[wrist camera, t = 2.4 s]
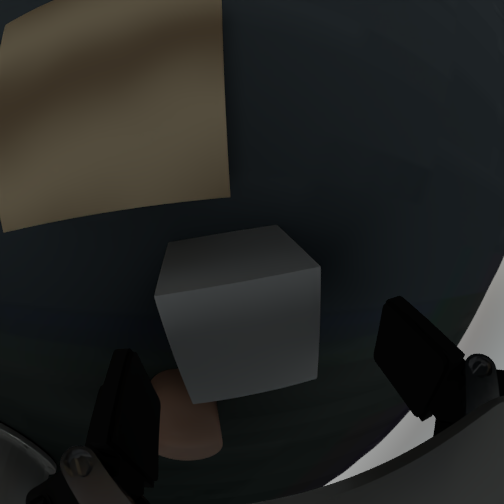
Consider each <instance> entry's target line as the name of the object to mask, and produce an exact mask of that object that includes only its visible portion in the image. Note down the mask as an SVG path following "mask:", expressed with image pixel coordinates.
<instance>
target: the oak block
mask: <svg viewBox="0 0 504 504" xmlns="http://www.w3.org/2000/svg"><path fill="white" fill-rule="evenodd" d="M225 197H230V183H229V166H228V149H227V130H226V110H225V88H224V63H223V34H222V0H53V1H51V2H49V3H47V4H44V5H42V6H40V7H38V8H36V9H34V10H32V11H30V12H28V13H26V14H24V15H22V16H21V17H19V18H17V19H15V20H13V21H12V22H10V23H8V24H7V25H5V29H4V33H3V37H2V41H1V46H0V218H1V223H2V228H3V232H9V231H13V230H17V229H22V228H26V227H31V226H35V225H40V224H45V223H50V222H55V221H60V220H65V219H70V218H76V217H82V216H87V215H93V214H99V213H105V212H111V211H118V210H124V209H131V208H138V207H145V206H153V205H161V204H169V203H177V202H186V201H195V200H204V199H214V198H225Z"/></svg>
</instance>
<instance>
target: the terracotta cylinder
mask: <svg viewBox="0 0 504 504" xmlns="http://www.w3.org/2000/svg"><path fill="white" fill-rule="evenodd" d="M151 383H152V385H153V387H154V389H155V391H156V393H157V395H158V397H159V399H160V403H161V412H160V429H159V452H158V455H161V456H163V457H167V458H170V459H176V460H199V459H204V458H207V457H210V456H212V455H214V454H216V453H217V452H219V451H220V450H221V448H222V446H223V441H222V435H221V428H220V422H219V415H218V408H217V401H213V402H206V403H199V404H193V403H192V401H191V398H190V396H189V394H188V391H187V389H186V386H185V384H184V381H183V379H182V376H181V374H180V371H179V369H170V370H166V371H163V372H160V373H159V374H157V375H156V376H155V377H154V378H153V379H152V380H151Z"/></svg>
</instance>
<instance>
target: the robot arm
mask: <svg viewBox="0 0 504 504" xmlns="http://www.w3.org/2000/svg"><path fill="white" fill-rule="evenodd" d="M464 356H465V354H464V353H463V352H462V351H461V350H460V349H459V348H458V347H457V346H456V345H455V344H454V343H453V342H451V341H450V340H449V339H448V338H447V337H446V336H445V335H444V334H443V333H442V332H441V331H440V330H439V329H438V328H437V327H435V326H434V325H433V324H432V323H431V322H430V321H429V320H428V319H427V318H426V317H424V316H423V315H422V314H421V313H420V312H419V311H418V310H417V309H416V308H414V307H413V306H412V305H411V304H410V303H409V302H408V301H406V300H405V299H404V298H403V297H401V296H397V297H394V298H391V299H388V300H387V301H386V304H384V306H383V309H382V315H381V321H380V326H379V331H378V336H377V341H376V346H375V350H374V359H375V362H376V363H377V364H378V366H379V367H380V368H381V370H382V371H383V373H384V374H385V375H386V377H387V378H388V379H389V381H390V382H391V384H392V385H393V386H394V388H395V389H396V390H397V392H398V393H399V395H400V396H401V397H402V399H403V400H404V402H405V403H406V404H407V406H408V407H409V409H410V410H411V412H412V413H413V414H414V416H416V417H419V418H420V419H421V421H424V420H426V419H428V418H429V417H431V416H432V415H434V416H435V418H436V421H435V429H434V435H433V437H432V438H430V439H429V440H427V441H425V442H424V443H422V444H420V445H418V446H417V447H415V448H413V449H411V450H409V451H408V452H406V453H404V454H402V455H400V456H398V457H396V458H394V459H392V460H390V461H388V462H386V463H383V464H381V465H379V466H377V467H375V468H372V469H370V470H367V471H365V472H363V473H360V474H358V475H355V476H353V477H350V478H348V479H345V480H342V481H339V482H336V483H333V484H330V485H327V486H324V487H321V488H317V489H314V490H311V491H307V492H303V493H300V494H296V495H292V496H287V497H283V498H278V499H274V500H269V501H263V502H257V503H251V504H504V370H497V369H496V367H495V364H494V362H493V361H492V360H491V359H490V358H489V357H487V356H486V355H483V354H473V355H470V356H469V357H468V358H467V359H466V361H465V360H464V359H463V357H464ZM160 412H161V403H160V399H159V397H158V395H157V393H156V391H155V389H154V387H153V385H152V383H151V381H150V379H149V377H148V375H147V373H146V371H145V369H144V367H143V365H142V363H141V361H140V359H139V356H138V354H137V353H136V352H132V350H131V349H117V350H115V351H114V353H113V356H112V359H111V362H110V366H109V369H108V372H107V375H106V379H105V382H104V385H102V386H101V388H100V390H99V393H98V396H97V400H96V404H95V407H94V411H93V415H92V419H91V423H90V427H89V431H88V435H87V440H86V444H85V446H81V445H79V446H73V447H71V448H69V449H68V450H66V451H65V452H64V454H63V455H62V457H61V460H60V468H61V471H60V472H58V473H57V474H55V473H56V468H57V466H56V464H55V462H54V461H53V460H52V458H51V457H50V456H49V455H48V454H46V453H45V452H44V451H43V450H42V449H40V448H39V447H38V446H37V445H35V444H34V443H33V442H31V441H30V440H28V439H27V438H25V437H24V436H22V435H21V434H19V433H18V432H16V431H14V430H13V429H11V428H9V427H8V426H6V425H4V424H2V423H0V504H150V503H149V501H148V500H147V499H146V498H145V497H144V496H143V494H144V487H152V488H154V481H157V479H158V452H159V429H160ZM49 474H55V475H54V476H52V477H50V478H49V479H48V476H49Z"/></svg>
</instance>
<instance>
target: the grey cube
mask: <svg viewBox="0 0 504 504" xmlns="http://www.w3.org/2000/svg"><path fill="white" fill-rule="evenodd" d="M154 298H155V301H156V305H157V308H158V311H159V314H160V318H161V321H162V324H163V327H164V330H165V333H166V336H167V338H168V341H169V344H170V347H171V350H172V353H173V355H174V358H175V361H176V363H177V366H178V369H179V371H180V374H181V376H182V379H183V381H184V384H185V386H186V389H187V391H188V394H189V396H190V398H191V401H192V403H193V404H199V403H206V402H213V401H219V400H225V399H231V398H237V397H242V396H247V395H252V394H257V393H262V392H266V391H271V390H275V389H279V388H283V387H287V386H291V385H295V384H299V383H303V382H306V381H310V380H313V379H317V370H318V354H319V333H320V299H321V266H320V265H319V264H318V263H317V262H315V261H314V260H313V259H312V258H311V257H310V256H309V255H308V254H307V253H306V252H305V251H304V250H303V249H302V248H301V247H300V246H299V245H298V244H297V243H296V242H295V241H294V240H293V239H292V238H290V237H289V236H288V235H287V234H286V233H285V232H284V231H283V230H282V229H281V228H280V227H279V226H278V225H271V226H265V227H258V228H252V229H245V230H239V231H233V232H227V233H221V234H215V235H209V236H203V237H197V238H191V239H185V240H179V241H173V242H168V246H167V249H166V253H165V256H164V260H163V263H162V267H161V271H160V275H159V278H158V282H157V286H156V290H155V294H154Z"/></svg>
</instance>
